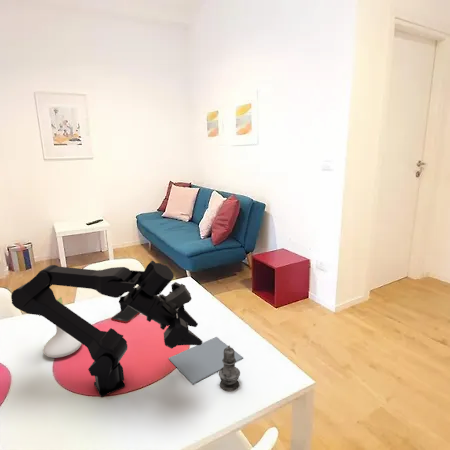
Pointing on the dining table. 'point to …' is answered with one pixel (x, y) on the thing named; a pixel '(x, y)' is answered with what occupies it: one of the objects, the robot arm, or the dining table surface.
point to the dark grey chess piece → (229, 371)
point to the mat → (202, 360)
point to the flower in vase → (61, 343)
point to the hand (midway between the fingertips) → (199, 333)
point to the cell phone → (125, 315)
